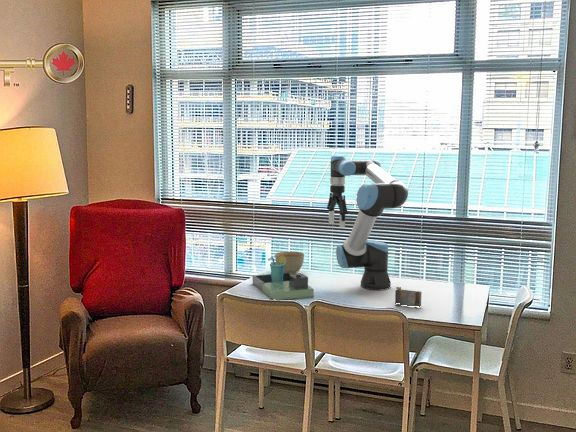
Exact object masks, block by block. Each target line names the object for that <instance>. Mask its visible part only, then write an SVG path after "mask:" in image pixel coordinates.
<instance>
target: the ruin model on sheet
mask: <svg viewBox="0 0 576 432" xmlns="http://www.w3.org/2000/svg"><path fill="white" fill-rule="evenodd" d="M395 288H396V289H395V294H394V295H395V296H394V305H395V304H396V303H400V305H407V306H419V307H420V306H421V307H422V291H418V290H409V289H402V286H395ZM400 305H399V306H400Z"/></svg>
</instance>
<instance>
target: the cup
mask: <svg viewBox="0 0 576 432" xmlns="http://www.w3.org/2000/svg"><path fill="white" fill-rule="evenodd" d="M274 258H275V257H273V256H271V257H270V258H268V259H267V261H272V262H270V264H269V267H270V274H271V277H272V282H283V273H284V266H285V264H286V261H287V260H286V257H284V256H281V257H279V260H278V262H276V261H275V259H274Z"/></svg>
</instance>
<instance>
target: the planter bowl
mask: <svg viewBox="0 0 576 432" xmlns="http://www.w3.org/2000/svg"><path fill="white" fill-rule="evenodd" d="M281 256H284V257H286V260H287V261H286V264H285V266H284V273H291V274H292V275H295V274H296V272H297V271H300V270H301V269H302V266H303V264H304V258H305V253H304V252H299V251H280V252H275V253H274V258H275V259H274V260H275V262H278V260H279V257H281Z"/></svg>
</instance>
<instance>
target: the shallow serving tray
mask: <svg viewBox="0 0 576 432" xmlns="http://www.w3.org/2000/svg"><path fill="white" fill-rule="evenodd" d="M252 285H253V286H255V287H256V288H257V289H258V290H260V292H262V293H264V294H265V295H266V296H268V298H269V299H271V298H272V299H288V300H298V299H307V298H314V296H315V295H314V293H315V292H314V288H313V287H311V286H310V285H309V276H307V275H305V274H304V273H302V271H300V270H299V271H297V272H296V274H295V275H292V274H291V273H283V282H272V277H271V273H270V274H269V273H268V274H257V275H255V274H254V275H252ZM272 299H271V300H272Z"/></svg>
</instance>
